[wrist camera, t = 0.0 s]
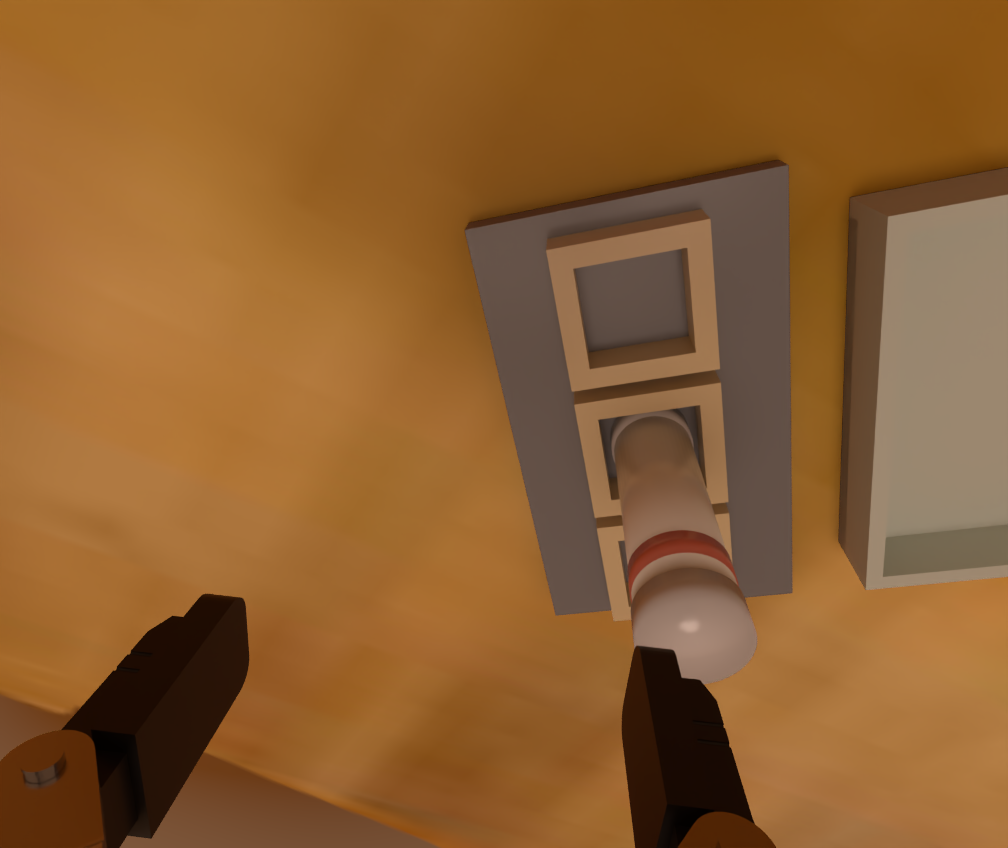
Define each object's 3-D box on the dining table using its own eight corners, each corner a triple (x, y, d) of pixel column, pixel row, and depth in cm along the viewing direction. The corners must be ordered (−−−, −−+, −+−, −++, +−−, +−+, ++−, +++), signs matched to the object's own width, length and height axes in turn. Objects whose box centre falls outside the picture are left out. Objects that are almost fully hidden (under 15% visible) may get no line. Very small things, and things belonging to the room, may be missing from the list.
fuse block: (468, 222, 31) (458, 241, 28) (778, 159, 29) (803, 172, 26) (556, 598, 42) (555, 640, 39) (784, 575, 40) (803, 618, 37)
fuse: (643, 386, 33) (688, 580, 21) (705, 426, 34) (783, 636, 22) (594, 442, 35) (610, 651, 23) (654, 479, 36) (700, 700, 23)
